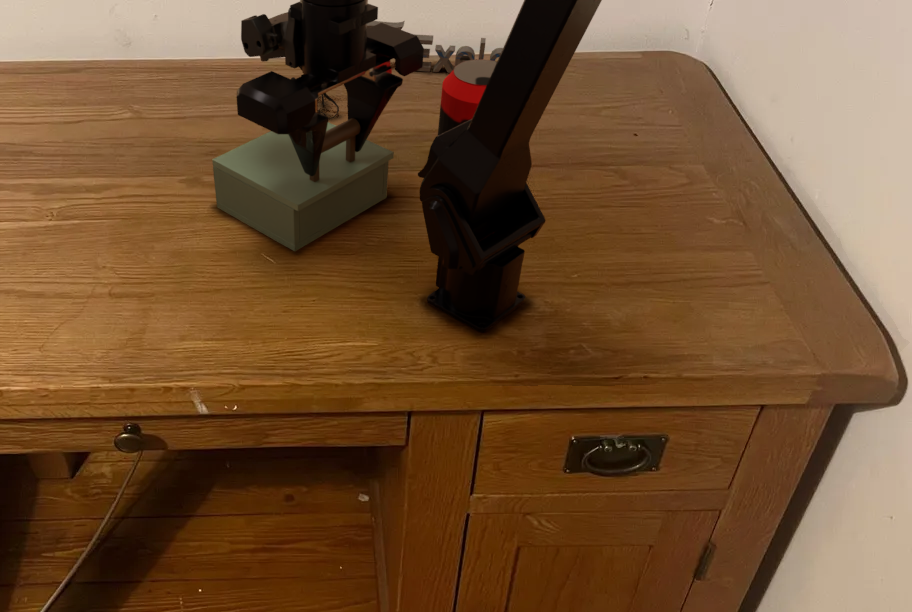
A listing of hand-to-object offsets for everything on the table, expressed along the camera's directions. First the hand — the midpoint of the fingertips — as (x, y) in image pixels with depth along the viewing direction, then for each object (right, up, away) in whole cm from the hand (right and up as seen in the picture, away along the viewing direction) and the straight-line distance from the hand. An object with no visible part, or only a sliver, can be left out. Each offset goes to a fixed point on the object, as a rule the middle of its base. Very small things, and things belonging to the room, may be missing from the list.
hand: (333, 161), depth 87 cm
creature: (-3, +12, +21) cm, 25 cm away
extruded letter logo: (+13, +19, +29) cm, 37 cm away
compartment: (-3, -2, +7) cm, 8 cm away
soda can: (+15, 0, +9) cm, 17 cm away
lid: (-3, +1, +3) cm, 4 cm away
